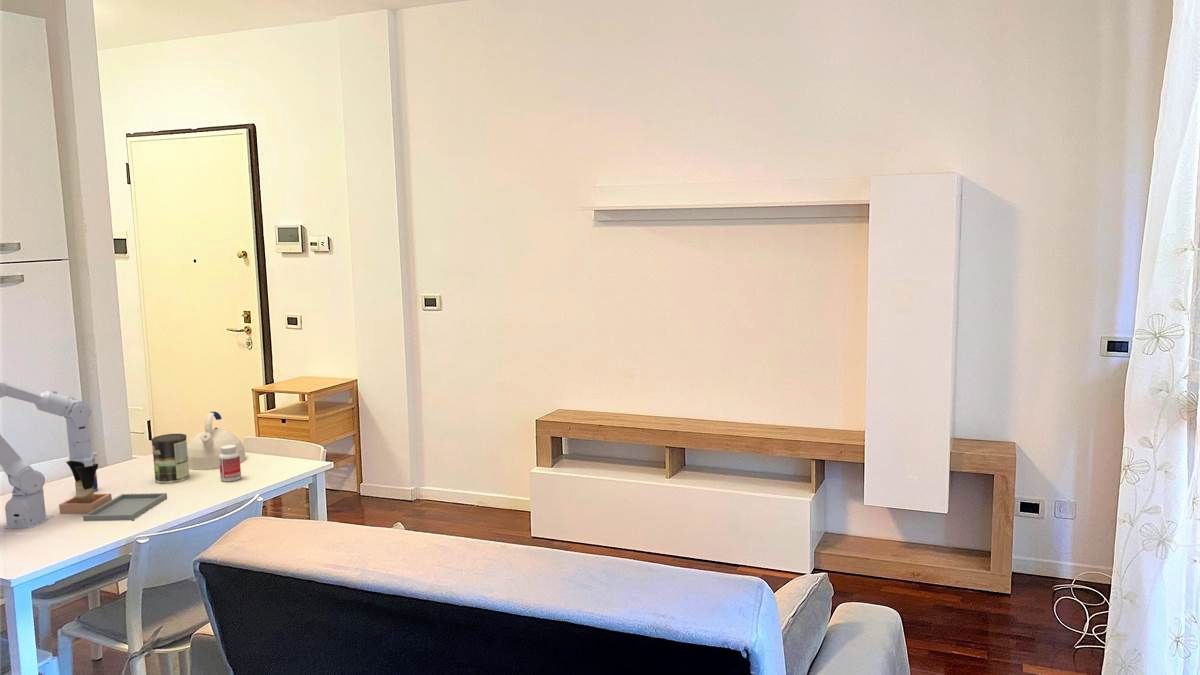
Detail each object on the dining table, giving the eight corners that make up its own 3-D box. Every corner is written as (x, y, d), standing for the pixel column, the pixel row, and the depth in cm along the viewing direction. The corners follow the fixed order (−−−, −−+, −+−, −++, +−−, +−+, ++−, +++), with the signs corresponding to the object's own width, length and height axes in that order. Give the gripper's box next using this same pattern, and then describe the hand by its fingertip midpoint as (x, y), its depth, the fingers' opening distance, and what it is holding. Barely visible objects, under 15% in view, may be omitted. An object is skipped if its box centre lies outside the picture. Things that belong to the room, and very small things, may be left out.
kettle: (175, 472, 284) (170, 420, 282) (192, 456, 304) (188, 407, 302) (238, 468, 288) (235, 416, 286) (251, 452, 308) (247, 404, 306)
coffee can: (159, 485, 269) (156, 442, 267) (151, 479, 277) (147, 437, 275) (194, 478, 276) (190, 437, 274) (184, 472, 283) (181, 431, 281)
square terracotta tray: (93, 513, 242) (92, 503, 242) (60, 514, 242) (58, 504, 242) (112, 503, 252) (111, 493, 252) (80, 503, 252) (79, 494, 252)
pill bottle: (245, 477, 276) (242, 445, 274) (230, 483, 270) (228, 449, 269) (231, 475, 278) (228, 443, 277) (216, 481, 273) (213, 448, 271)
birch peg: (89, 509, 245) (86, 483, 244) (74, 510, 245) (71, 483, 244) (98, 504, 249) (95, 478, 248) (83, 505, 249) (80, 479, 248)
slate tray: (132, 521, 236) (131, 514, 235) (83, 522, 236) (83, 516, 235) (167, 498, 255) (166, 493, 255) (122, 499, 255) (121, 494, 255)
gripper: (102, 442, 242) (107, 487, 244) (88, 434, 252) (92, 477, 254) (74, 447, 237) (79, 493, 239) (61, 438, 247) (65, 483, 249)
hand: (84, 485), depth 246 cm, fingers open, 7 cm apart
